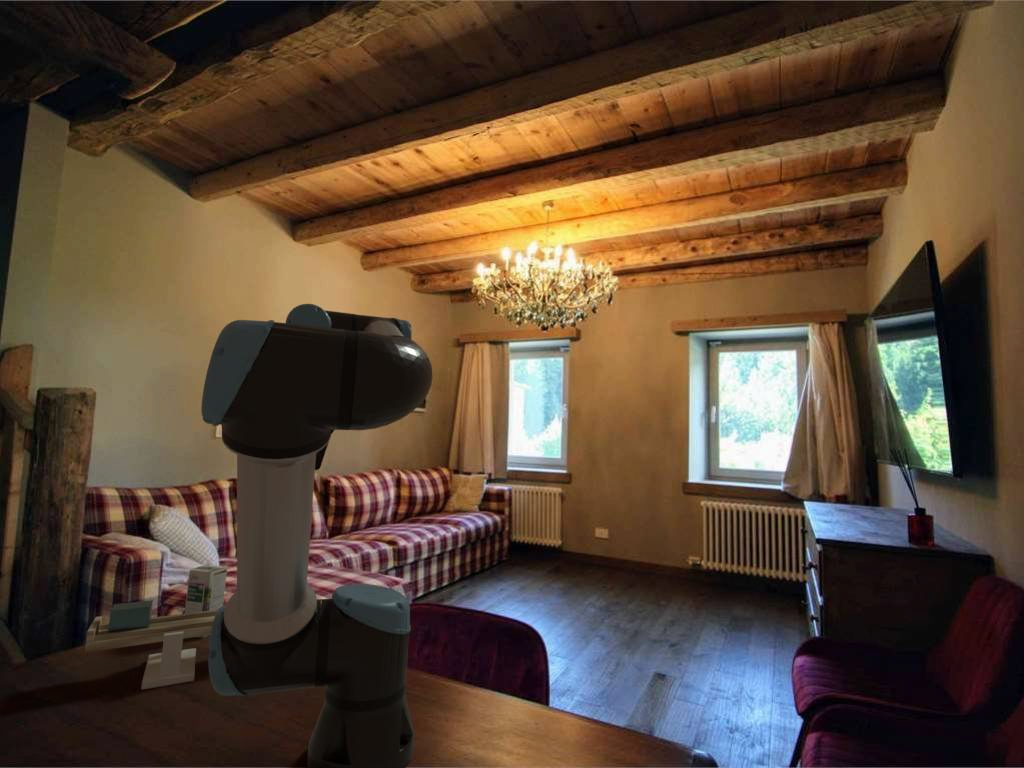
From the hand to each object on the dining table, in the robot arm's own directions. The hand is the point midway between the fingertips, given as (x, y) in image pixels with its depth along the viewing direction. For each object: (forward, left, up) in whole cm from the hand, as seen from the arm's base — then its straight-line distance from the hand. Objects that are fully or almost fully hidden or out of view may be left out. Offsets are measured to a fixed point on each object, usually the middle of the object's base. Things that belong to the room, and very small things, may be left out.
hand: (295, 506), depth 99 cm
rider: (+14, +25, -24) cm, 38 cm away
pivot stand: (+14, +18, -32) cm, 40 cm away
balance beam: (+14, +18, -28) cm, 36 cm away
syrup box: (+33, +13, -33) cm, 48 cm away
